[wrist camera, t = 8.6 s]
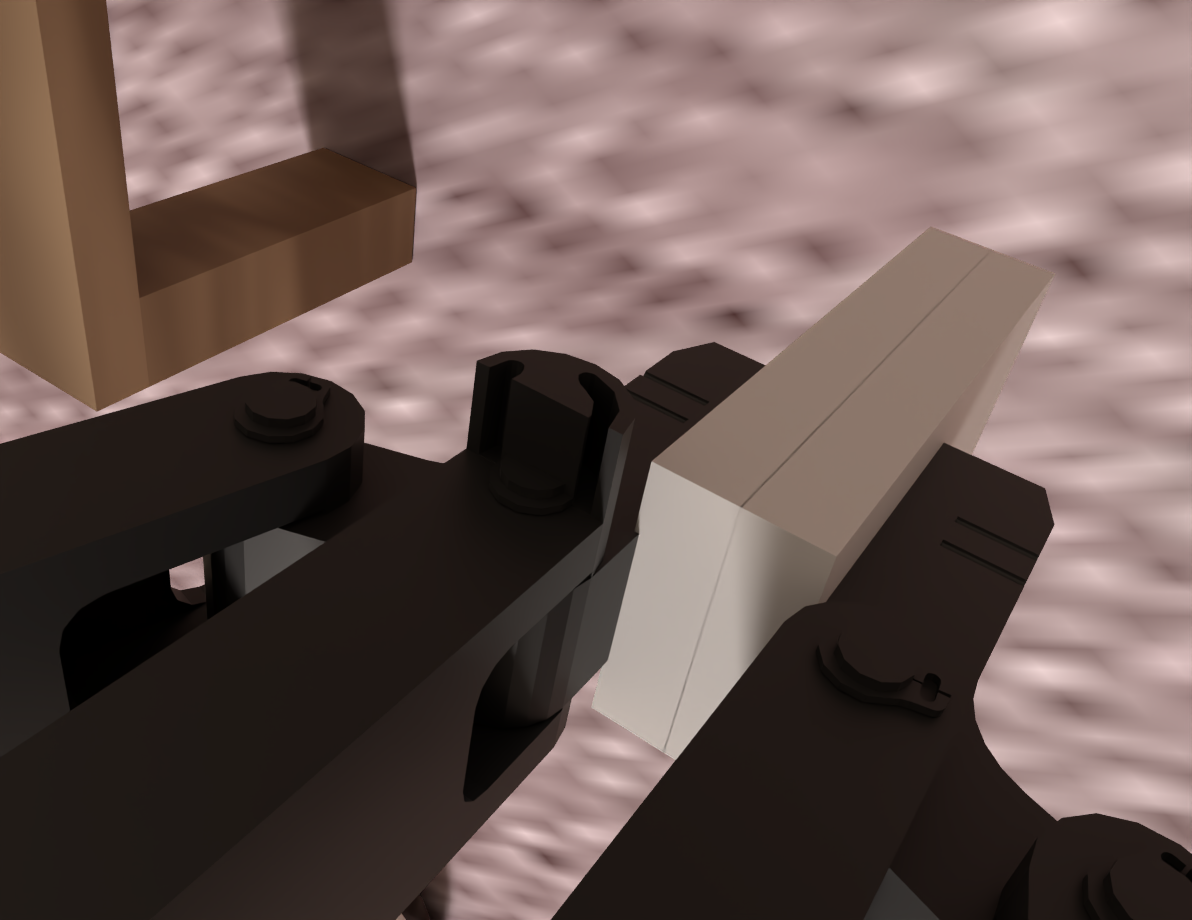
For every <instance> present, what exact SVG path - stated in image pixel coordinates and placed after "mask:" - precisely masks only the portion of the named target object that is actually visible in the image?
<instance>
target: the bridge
mask: <svg viewBox="0 0 1192 920" xmlns="http://www.w3.org/2000/svg"><path fill="white" fill-rule="evenodd" d="M415 197H416V188H415V187H413V186H410V185H408V184H406V183H404V182H401V181H399V180H397V179H394V178H392V177H390V176H387V175H385V174H383V173H381V172H378V171H376V170H374V169H371V168H369V167H367V166H364V165H362V164H360V163H358V162H355V161H353V160H351V159H348V158H346V157H344V156H341V155H339V154H337V153H335V152H332V151H330V150H328V149H325V148H321V149H318V150H315V151H311V152H308V153H305V154H302V155H299V156H296V157H293V158H290V159H287V160H284V161H281V162H278V163H275V164H272V165H268V166H265V167H262V168H259V169H256V170H253V171H250V172H247V173H244V174H241V175H238V176H235V177H232V178H229V179H225V180H222V181H219V182H216V183H213V184H210V185H207V186H204V187H201V188H198V189H195V190H192V191H189V192H186V193H182V194H179V195H176V196H173V197H170V198H167V199H164V200H161V201H158V202H155V203H152V204H149V205H146V206H143V207H139V208H136V209H133V210H130V211H129V202H128V193H127V184H126V175H125V166H124V157H123V148H122V139H121V130H120V121H119V113H118V104H117V95H116V86H115V77H114V68H113V59H112V50H111V41H110V32H109V23H108V14H107V6H106V0H0V353H2V354H3V355H5V356H7V357H8V358H10V359H12V360H13V361H15V362H16V363H18V364H20V365H21V366H23V367H25V368H26V369H28V370H30V371H31V372H33V373H35V374H36V375H38V376H39V377H41V378H43V379H44V380H46V381H48V382H49V383H51V384H53V385H54V386H56V387H58V388H59V389H61V390H62V391H64V392H66V393H67V394H69V395H71V396H72V397H74V398H76V399H77V400H79V401H81V402H82V403H84V404H85V405H87V406H89V407H90V408H92V409H94V410H95V411H99V410H101V409H103V408H106V407H108V406H110V405H112V404H114V403H116V402H118V401H120V400H122V399H124V398H127V397H129V396H131V395H133V394H135V393H137V392H139V391H141V390H143V389H146V388H148V387H150V386H152V385H154V384H156V383H158V382H160V381H162V380H165V379H167V378H169V377H171V376H173V375H175V374H177V373H179V372H181V371H184V370H186V369H188V368H190V367H192V366H194V365H196V364H198V363H200V362H202V361H205V360H207V359H209V358H211V357H213V356H215V355H217V354H219V353H221V352H224V351H226V350H228V349H230V348H232V347H234V346H236V345H238V344H240V343H243V342H245V341H247V340H249V339H251V338H253V337H255V336H257V335H259V334H262V333H264V332H266V331H268V330H270V329H272V328H274V327H276V326H278V325H280V324H283V323H285V322H287V321H289V320H291V319H293V318H295V317H297V316H299V315H302V314H304V313H306V312H308V311H310V310H312V309H314V308H316V307H318V306H321V305H323V304H325V303H327V302H329V301H331V300H333V299H335V298H337V297H340V296H342V295H344V294H346V293H348V292H350V291H352V290H354V289H356V288H358V287H361V286H363V285H365V284H367V283H369V282H371V281H373V280H375V279H377V278H380V277H382V276H384V275H386V274H388V273H390V272H392V271H394V270H396V269H399V268H401V267H403V266H405V265H407V264H409V263H411V262H412V249H413V232H414V214H415Z"/></svg>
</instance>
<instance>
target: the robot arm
mask: <svg viewBox="0 0 1192 920" xmlns="http://www.w3.org/2000/svg"><path fill="white" fill-rule="evenodd" d="M1054 275H1055V273H1052V272H1049V271H1047V270H1044V269H1042V268H1039V267H1036V266H1034V265H1031V264H1028V263H1026V262H1023V261H1020V260H1018V259H1015V258H1012V257H1010V256H1007V255H1005V254H1002V253H999V252H997V251H994V250H991V249H989V248H986V247H983V246H981V245H978V244H975V243H973V242H970V241H968V240H965V239H962V238H960V237H957V236H954V235H952V234H949V233H946V232H944V231H941V230H939V229H936V228H933V227H930V228H929V229H927V230H926V231H925V232H924V233H923V234H922V235H920V236H919V237H918V238H917V239H916V240H914V241H913V242H912V243H911V244H910V245H908V246H907V247H906V248H905V249H904V250H902V251H901V252H900V253H899V254H898V255H897V256H895V257H894V258H893V259H892V260H891V261H889V262H888V263H887V264H886V265H885V266H883V267H882V268H881V269H880V270H879V271H878V272H876V273H875V274H874V275H873V276H872V277H870V278H869V279H868V280H867V281H866V282H864V283H863V284H862V285H861V286H860V287H858V288H857V289H856V290H855V291H854V292H853V293H851V294H850V295H849V296H848V297H847V298H845V299H844V300H843V301H842V302H841V303H839V304H838V305H837V306H836V307H835V308H833V309H832V310H831V311H830V312H829V313H828V314H826V315H825V316H824V317H823V318H822V319H820V320H819V321H818V322H817V323H816V324H814V325H813V326H812V327H811V328H810V329H808V330H807V331H806V332H805V333H804V334H803V335H801V336H800V337H799V338H798V339H797V340H795V341H794V342H793V343H792V344H791V345H789V346H788V347H787V348H786V349H785V350H784V351H782V352H781V353H780V354H779V355H778V356H776V357H775V358H774V359H773V360H772V361H770V362H769V363H768V364H767V365H763V364H761V363H759V362H757V361H755V360H752V359H750V358H748V357H746V356H744V355H741V354H739V353H737V352H735V351H733V350H730V349H728V348H726V347H724V346H722V345H719V344H717V343H715V342H713V343H708V344H704V345H699V346H695V347H691V348H686V349H682V350H677V351H673V352H672V353H670V354H669V355H668V356H666V357H665V358H663V359H662V360H660V361H659V362H658V363H656V364H655V365H653V366H652V367H651V368H649V369H648V370H646V372H645V374H644V376H642V375H639V376H638V377H637V378H635V379H634V380H632V381H631V382H630V383H628V384H627V385H625V386H624V385H623V384H622V382H621V381H620V380H619V379H617V378H616V377H614V376H613V375H611V374H610V373H608V372H607V371H605V370H604V369H602V368H600V367H599V366H597V365H596V364H593V363H590V362H587V361H584V360H582V359H579V358H576V357H573V356H570V355H567V354H562V353H555V352H548V351H541V350H520V351H506V352H500V353H498V354H495V355H492V356H489V357H486V358H483V359H481V360H478V361H477V364H476V373H475V381H474V390H473V398H472V407H471V415H470V424H469V432H468V441H467V449H465V450H464V451H462V452H461V453H459V454H458V455H456V456H454V457H453V458H451V459H450V460H448V461H447V462H445V463H439V462H434V461H429V460H424V459H421V458H417V457H414V456H410V455H407V454H403V453H399V452H396V451H392V450H389V449H385V448H381V447H378V446H374V445H371V444H367V443H364V431H365V411H364V409H363V408H362V406H361V405H360V404H359V402H358V401H357V399H356V398H355V397H354V395H353V394H352V393H350V392H348V391H347V390H345V389H343V388H342V387H340V386H338V385H337V384H335V383H333V382H332V381H328V380H325V379H321V378H317V377H314V376H310V375H306V374H303V373H283V372H267V373H261V374H254V375H248V376H242V377H238V378H234V379H230V380H227V381H223V382H220V383H216V384H213V385H209V386H205V387H202V388H198V389H195V390H191V391H187V392H184V393H180V394H177V395H173V396H170V397H166V398H162V399H159V400H155V401H152V402H148V403H145V404H141V405H137V406H134V407H130V408H127V409H123V410H120V411H116V412H112V413H109V414H105V415H102V416H98V417H95V418H91V419H87V420H84V421H80V422H77V423H73V424H69V425H66V426H62V427H59V428H55V429H52V430H48V431H44V432H41V433H37V434H34V435H30V436H27V437H23V438H19V439H16V440H12V441H9V442H5V443H2V444H0V920H396V919H397V918H398V917H399V916H400V914H401V913H402V912H403V911H404V910H405V909H406V908H407V907H408V906H409V905H410V904H411V902H412V901H413V900H414V899H415V898H416V897H417V896H418V895H419V894H420V893H421V892H422V890H423V889H424V888H425V887H426V886H427V885H428V884H429V883H430V882H431V881H432V880H433V878H434V877H435V876H436V875H437V874H438V873H439V872H440V871H441V870H442V869H443V868H444V866H445V865H446V864H447V863H448V862H449V861H450V860H451V859H452V858H453V857H454V856H455V854H456V853H457V852H458V851H459V850H460V849H461V848H462V847H463V846H464V845H465V844H466V842H467V841H468V840H469V839H470V838H471V837H472V836H473V835H474V834H475V833H476V832H477V830H478V829H479V828H480V827H481V826H482V825H483V824H484V823H485V822H486V821H487V820H488V818H489V817H490V816H491V815H492V814H493V813H494V812H495V811H496V810H497V809H498V808H499V806H500V805H501V804H502V803H503V802H504V801H505V800H506V799H507V798H508V797H509V796H510V794H511V793H512V792H513V791H514V790H515V789H516V788H517V787H518V786H519V785H520V784H521V782H522V781H523V780H524V779H525V778H526V777H527V776H528V775H529V774H530V773H531V772H532V770H533V769H534V768H535V767H536V766H537V765H538V764H539V763H540V762H541V761H542V760H543V758H544V757H545V756H546V755H547V754H548V753H549V752H550V751H551V750H552V749H553V748H554V746H555V744H556V743H557V741H558V739H559V737H560V735H561V734H562V732H563V730H564V728H565V726H566V721H567V717H568V712H569V708H570V703H571V699H572V697H573V696H574V695H575V694H576V693H577V692H578V691H579V690H580V689H581V688H582V687H583V686H584V685H585V684H586V683H587V682H588V681H589V680H590V679H591V677H592V676H593V675H594V674H595V673H596V672H597V671H598V670H599V669H600V668H601V670H600V675H599V679H598V683H597V687H596V691H595V695H594V699H593V703H592V707H591V708H593V709H595V710H596V711H598V712H599V713H601V714H603V715H604V716H606V717H607V718H609V719H611V720H612V721H614V722H615V723H617V724H619V725H620V726H622V727H623V728H625V729H627V730H628V731H630V732H631V733H633V734H634V735H636V736H638V737H639V738H641V739H642V740H644V741H646V742H647V743H649V744H650V745H652V746H654V747H655V748H657V749H658V750H660V751H662V752H663V753H665V754H666V755H668V756H670V757H671V758H673V759H674V760H675V762H674V763H673V764H672V766H671V767H670V768H669V769H668V771H667V772H666V773H665V775H664V776H663V777H662V778H661V780H660V781H659V782H658V783H657V785H656V786H655V787H654V789H653V790H652V791H651V792H650V794H649V795H648V796H647V798H646V799H645V800H644V801H643V803H642V804H641V805H640V806H639V808H638V809H637V810H636V812H635V813H634V814H633V815H632V817H631V818H630V819H629V821H628V822H627V823H626V824H625V826H624V827H623V828H622V829H621V831H620V832H619V833H618V835H617V836H616V837H615V838H614V840H613V841H612V842H611V844H610V845H609V846H608V847H607V849H606V850H605V851H604V852H603V854H602V855H601V856H600V858H599V859H598V860H597V861H596V863H595V864H594V865H593V867H592V868H591V869H590V870H589V872H588V873H587V874H586V875H585V877H584V878H583V879H582V881H581V882H580V883H579V884H578V886H577V887H576V888H575V890H574V891H573V892H572V893H571V895H570V896H569V897H568V898H567V900H566V901H565V902H564V904H563V905H562V906H561V907H560V909H559V910H558V911H557V913H556V914H555V915H554V916H553V918H552V919H551V920H1192V854H1191V853H1190V852H1188V851H1187V850H1186V849H1185V848H1184V847H1182V846H1181V845H1180V844H1178V843H1176V842H1174V841H1172V840H1170V839H1168V838H1166V837H1164V836H1162V835H1160V834H1158V833H1157V832H1155V831H1153V830H1151V829H1149V828H1147V827H1145V826H1143V825H1141V824H1139V823H1137V822H1132V821H1128V820H1124V819H1119V818H1115V817H1110V816H1106V815H1102V814H1097V813H1095V814H1088V815H1080V816H1073V817H1066V818H1061V819H1060V820H1059V821H1056V820H1055V819H1054V818H1053V817H1052V816H1051V815H1050V814H1048V813H1047V812H1046V811H1045V810H1044V809H1043V808H1042V807H1041V806H1039V805H1038V804H1037V803H1036V802H1035V801H1034V800H1033V799H1032V798H1030V797H1029V796H1028V795H1027V794H1026V793H1025V792H1024V791H1023V790H1022V789H1021V788H1020V787H1019V786H1018V785H1017V784H1016V783H1015V782H1014V781H1013V780H1012V779H1011V778H1010V777H1009V776H1008V775H1007V774H1006V772H1005V771H1004V770H1003V769H1002V768H1001V767H1000V765H999V764H998V762H997V761H996V759H995V758H994V756H993V755H992V753H991V752H990V751H989V749H988V748H987V746H986V745H985V743H984V740H983V738H982V735H981V733H980V730H979V728H978V725H977V723H976V720H975V711H974V701H973V698H974V694H975V690H976V686H977V682H978V679H979V677H980V675H981V673H982V671H983V669H984V667H985V665H986V663H987V661H988V659H989V657H990V655H991V653H992V651H993V649H994V647H995V645H996V643H997V641H998V639H999V637H1000V635H1001V632H1002V630H1003V628H1004V626H1005V624H1006V622H1007V620H1008V618H1009V616H1010V614H1011V612H1012V610H1013V608H1014V606H1015V604H1016V602H1017V600H1018V598H1019V596H1020V594H1021V592H1022V590H1023V588H1024V585H1025V583H1026V581H1027V579H1028V577H1029V575H1030V573H1031V571H1032V569H1033V567H1034V565H1035V563H1036V561H1037V559H1038V557H1039V555H1040V553H1041V551H1042V549H1043V547H1044V545H1045V543H1046V541H1047V539H1048V537H1049V535H1050V533H1051V531H1052V529H1053V526H1054V522H1053V518H1052V514H1051V510H1050V506H1049V502H1048V498H1047V494H1046V490H1045V488H1043V487H1041V486H1039V485H1036V484H1034V483H1032V482H1030V481H1028V480H1025V479H1023V478H1021V477H1019V476H1017V475H1014V474H1012V473H1010V472H1008V471H1006V470H1003V469H1001V468H999V467H997V466H995V465H992V464H990V463H988V462H986V461H983V460H981V459H979V458H977V457H975V456H972V453H973V451H974V449H975V447H976V445H977V442H978V440H979V438H980V436H981V434H982V432H983V429H984V427H985V425H986V423H987V421H988V419H989V416H990V414H991V412H992V410H993V408H994V406H995V403H996V401H997V399H998V397H999V395H1000V393H1001V390H1002V388H1003V386H1004V384H1005V382H1006V380H1007V377H1008V375H1009V373H1010V371H1011V369H1012V366H1013V364H1014V362H1015V360H1016V358H1017V356H1018V353H1019V351H1020V349H1021V347H1022V345H1023V343H1024V340H1025V338H1026V336H1027V334H1028V332H1029V330H1030V327H1031V325H1032V323H1033V321H1034V319H1035V317H1036V314H1037V312H1038V310H1039V308H1040V306H1041V304H1042V301H1043V299H1044V297H1045V295H1046V293H1047V291H1048V288H1049V286H1050V284H1051V282H1052V280H1053V278H1054ZM200 557H203V563H204V579H205V585H202V586H200V587H196V588H190V589H185V590H178V589H175V588H172V587H171V585H170V574H169V569H172V568H174V567H177V566H180V565H182V564H185V563H187V562H190V561H193V560H195V559H198V558H200Z"/></svg>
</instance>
